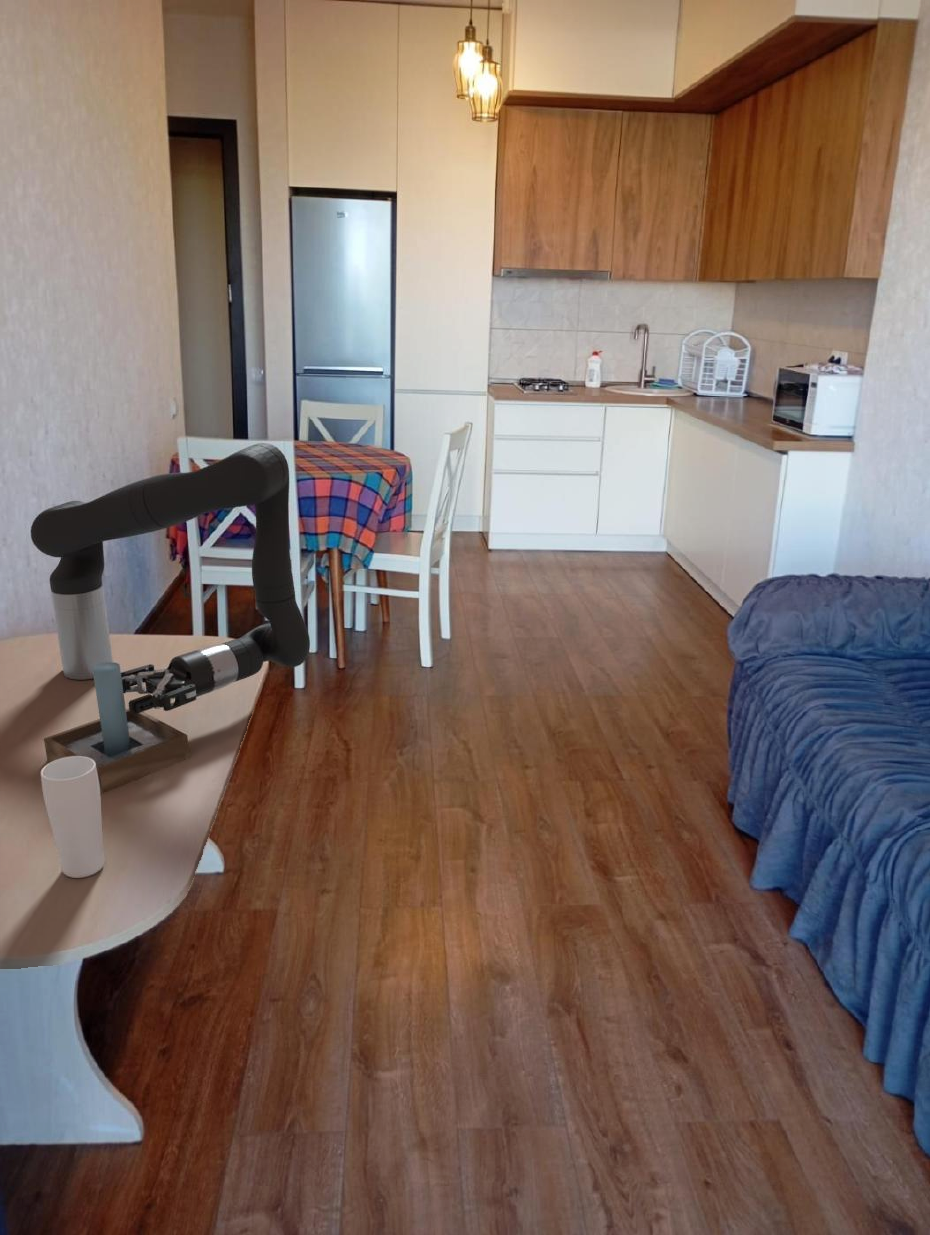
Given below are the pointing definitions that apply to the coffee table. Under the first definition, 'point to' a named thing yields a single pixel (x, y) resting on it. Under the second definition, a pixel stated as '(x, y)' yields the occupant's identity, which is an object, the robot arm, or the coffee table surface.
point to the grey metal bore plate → (139, 740)
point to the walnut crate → (133, 763)
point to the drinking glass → (75, 813)
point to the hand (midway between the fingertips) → (116, 700)
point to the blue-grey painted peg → (111, 708)
